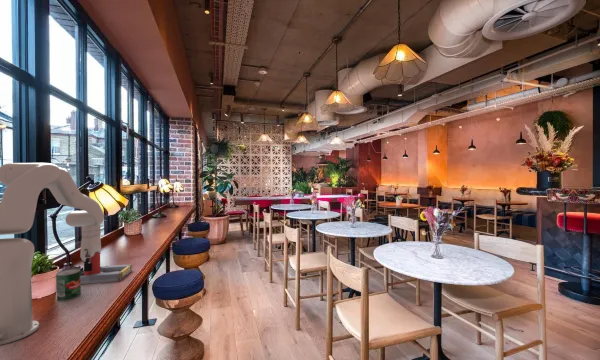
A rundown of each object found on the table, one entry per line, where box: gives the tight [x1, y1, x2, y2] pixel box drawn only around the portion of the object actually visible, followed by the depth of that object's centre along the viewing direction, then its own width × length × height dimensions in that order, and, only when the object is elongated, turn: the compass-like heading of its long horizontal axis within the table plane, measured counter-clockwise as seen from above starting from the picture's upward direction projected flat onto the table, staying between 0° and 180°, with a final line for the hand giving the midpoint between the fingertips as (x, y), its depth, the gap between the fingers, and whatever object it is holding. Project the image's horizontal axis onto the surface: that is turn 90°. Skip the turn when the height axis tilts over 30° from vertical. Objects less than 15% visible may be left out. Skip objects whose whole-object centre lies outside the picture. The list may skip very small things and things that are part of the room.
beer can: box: [83, 251, 101, 276], centre depth 135 cm, size 7×7×12 cm
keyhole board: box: [80, 263, 133, 285], centre depth 137 cm, size 15×20×4 cm
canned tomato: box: [55, 268, 82, 302], centre depth 114 cm, size 8×8×11 cm
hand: (92, 268), depth 135 cm, fingers closed on beer can, 6 cm apart
